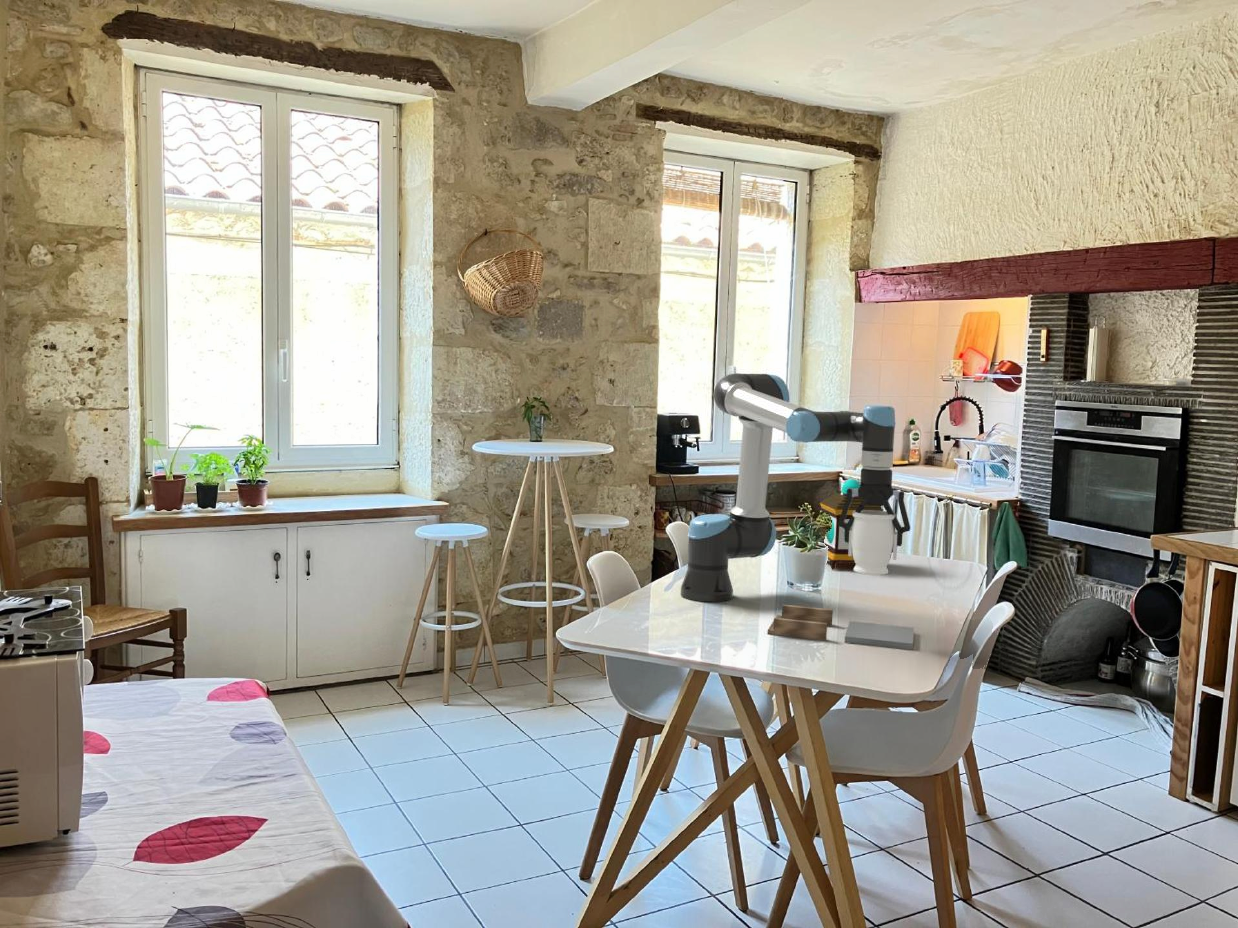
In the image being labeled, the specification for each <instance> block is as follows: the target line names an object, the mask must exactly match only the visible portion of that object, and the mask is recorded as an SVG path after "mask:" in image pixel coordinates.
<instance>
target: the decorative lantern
mask: <svg viewBox="0 0 1238 928" xmlns="http://www.w3.org/2000/svg"><path fill="white" fill-rule="evenodd" d="M859 487H860V481H858V480H857V479H856V478H851V479H848V480H846V481H845V482H844V483H843V484H842V486H841V490H840V491H839V490H838V492H837V493H836V494H835V495H832V496H831V497H825V499H823V500H821V501H820V503H819V504H820V507H821V509H822V513H823V512H826V513H828V514H830V517H831V520H832V529H830V531H828V532H826V534H825V539H824V543H825V545H826V546H828V548H829V549H828V559H827V560H828V561H829V562H830V568H831V570H832V571H835V570H836V566H837V564H838V563H855V561H854V558H853V554H852V556H848V550H849V542H845V540H844V539H845V529H844V528H842V527H839V526H838V522H839V519H840V516H841V513H842V510H843V508H844V505H845V502H846V499H847V490H848V488H852V489H858V488H859ZM862 501H863V499H862V498H861V496H860V495H859V493H856V496H855V497H853V498H852V501H851V504H850V507H849V510H848V512H847V515H846V518H845V521H844V522H845V523H848V521H849V520H850V518H851V517H852V512H853V511H856V509H857V508H858V506H859V505H860V504H861V502H862ZM862 510H877V511H884V510H885V509H883V508H882V506H876V505H873V506H868V505H867V504H866V505H865V506H864V508H863V509H862ZM850 529H852V526H851V527H850Z"/></svg>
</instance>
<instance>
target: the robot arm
mask: <svg viewBox="0 0 1238 928" xmlns="http://www.w3.org/2000/svg"><path fill="white" fill-rule="evenodd" d="M713 400H714V403H715V405H716V407H717V408H718V410H720V411H722V413H724V414H727V415H730V416H732V417H736V418H737V417H738V421H739V422H740V423H741V424H742V432H741V433H742V436H741V445H740V453H739V454H740V457H739V467H738V479H737V489H736V500H735V506H734V507H732V508H731V509H730V511H729V515H728V514H723V513H714V514H713V513H709V514H708V513H707V514H702V515H699V516H698V515H697V516H695V517H693V518H692V520H690V522H689V529H688V533H687V534H688V535H687V536H688V550H687V551H688V552H687V570H686V572H685V575H684V577H683V581H682V584H681V585H680V596H681V597H683V598H684V599H686V600H687V599H688V600H693V601H697V602H698V601H699V602H708V603H709V602H711V603H712V602H726V601H729V600H732V598H733V597H734V588H733V585H732V580H731V578H730V575H729V560H731V559H743V558H751V559H752V558H757V557H761V556H765V555H767V554H768V553H769V552H771V551H772V549H773V548H774V546H775V542H776V541H777V540H776V539H777V528H776V527H775V522H774V521H773V520H772V519H771V518H770V517H771V516H770V515H771V514H770V512H769V510H767V509H766V502H767V494H768V493H767V492H768V479H769V473H770V472H769V471H770V470H769V469H770V462H771V461H770V459H771V450H772V440H773V429H775V430H778V431H781V432H783V433H786V434H787V435H788V437H789V438H790V439H791V441H794V442H799V443H805V444H806V443H819V442H820V443H821V442H823V443H825V442H826V443H827V442H829V443H830V442H852V443H853V442H854V443H862V444H861V445H862V446H861V447H862V448H861V459H860V460H861V467H862V468H861V470H860V481H859V483H860V487H859V488H858V489H852V488H848V490H847V499H846V502H845V505H844V508H843V510H842V513H841V516H840V519H839V522H838V526H839V527H842V528H844V529H845V539H844V540H845V542H849V550H848V556H852V543H851V532H852V529H850V527H851V526H852V524H853V522H854V517H853V515H852V517H851V518H850V520H849V521H848V523H845V522H844V521H845V518H846V515H847V512H848V510H849V507H850V504H851V501H852V498H853V497H855V496H856V493H859V495H860V496H861V498H862V499H863V501H862V502H861V504H860V505H859V506H858V508H857V509H856V511H855V512H857V513H860V512H861V511H862V509H863V508H864V506H865V505H866V504H867V505H868V506H873V505H876V506H881V507H882V506H883V508H884V510H885V511H886V512H887V513H888V515H890V514H892V515H894V514H895V512H894V510H893V508H892V506H891V504H890V502H889V500H890V499H891V498H892V496H894V499H895V500H896V501H897V502H898V503H897V504H898V508H899V510H900V515H901V519H902V522H903V526H902V525H901V523H900V522H899V519H898V518H897V516H896V517H895V518H894V519H893V520H892V523H893V525H894V529H895V530H896V531H895V533H894V546H893V550H892V560H893V561H896V560H897V555H898V554H897V553H898V547H902V545H903V534H904V533H906V532H910V531H911V523H910V519H909V515H908V512H907V509H906V504H905V491H904V490H901V491H898V490H894V489H893V488H892V487H893V485H892V484H893V470H892V468H893V465H894V464H893V463H894V446H895V445H894V444H895V430H896V429H895V428H896V411H895V408H894V407H893V406H890V405H870V404H869V405H866V406H864V408H863V412H858V411H856V412H855V411H848V410H840V411H814V410H811V409H808V408H805V407H803V406H800V405H797V404H794V403H791V402H790V392H789V388H788V386H787V384H786V382H785V381H784V379H782V377H780V376H779V375H775V374H769V373H729V374H727V375H725V376H724V377H722V378H721V379H720V380H718V382H717V383H716V385H715V387H714V390H713Z"/></svg>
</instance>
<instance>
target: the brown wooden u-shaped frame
mask: <svg viewBox="0 0 1238 928" xmlns="http://www.w3.org/2000/svg"><path fill="white" fill-rule="evenodd" d="M833 614H834V610H833V608H831V609H829V608H821V607H820V608H819V607H811V606H799V605H790V604H782V607H781V615H779V614H776V616H775V617H774V618H773V621H772V623H771V624H770V625H769V627H768V629H767V632H766V633H767V635H773V636H774V635H775V636H782V637H790V638H791V637H792V638H800V639H809V640H821V641H827V637H828V636H827V633H828V632H827V631H828V626H829V627H831V626H833V616H834V615H833Z"/></svg>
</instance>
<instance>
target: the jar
mask: <svg viewBox="0 0 1238 928" xmlns="http://www.w3.org/2000/svg"><path fill="white" fill-rule="evenodd" d="M852 515H853V517H854V522H853V524H852V532H851V543H852V554H853V558H854V561H855V562H854V563H855V566H854V567H853V572H856V573H859V574H862V575H871V576H882V575H887V574H888V573H889V569H888V567H887V566H888V565H889V563H890V561H891V559H892V556H893V547H894V533H895V532H896V531H895V530H896V529H895V526H894V525H893V523H892V520H893V519H894V518H895V517H897V515H896V513H894V515H892V514H890V515H888V513H887V511H886V510H885V511H877V510H862V511H861V512H860V513H857V512H855V511H853V512H852Z"/></svg>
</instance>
